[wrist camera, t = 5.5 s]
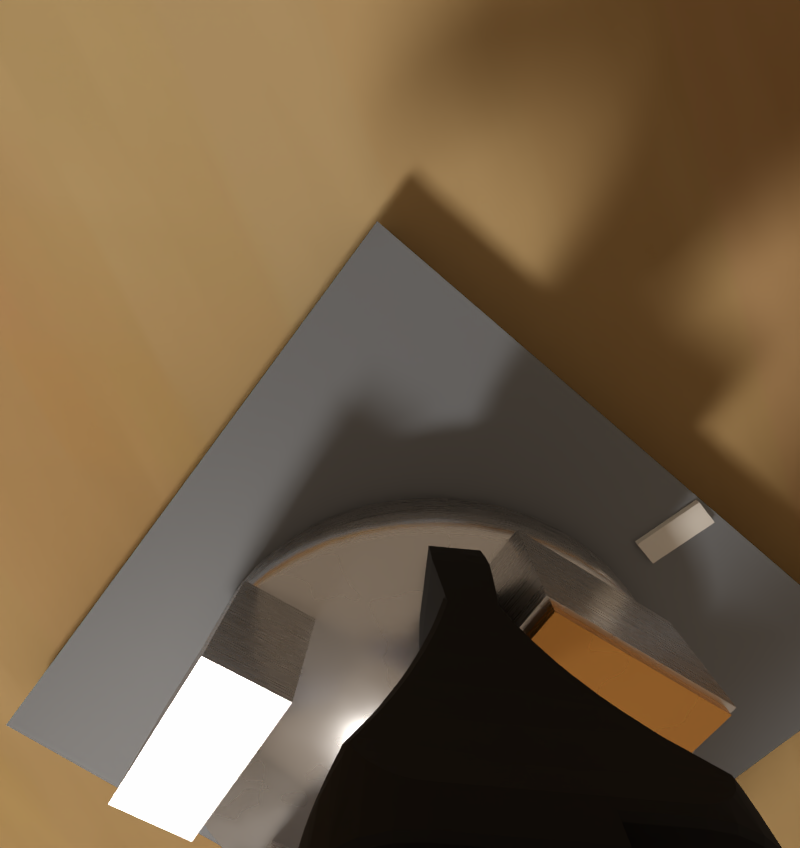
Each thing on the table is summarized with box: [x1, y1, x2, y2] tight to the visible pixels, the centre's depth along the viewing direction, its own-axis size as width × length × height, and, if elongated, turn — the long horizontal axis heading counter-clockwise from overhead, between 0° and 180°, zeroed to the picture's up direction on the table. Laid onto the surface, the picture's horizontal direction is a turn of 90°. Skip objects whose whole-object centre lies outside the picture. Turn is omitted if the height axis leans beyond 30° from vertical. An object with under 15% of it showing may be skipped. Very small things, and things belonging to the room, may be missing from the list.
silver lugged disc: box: [109, 498, 736, 848], centre depth 13 cm, size 15×15×5 cm
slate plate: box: [7, 221, 800, 845], centre depth 16 cm, size 20×20×2 cm
